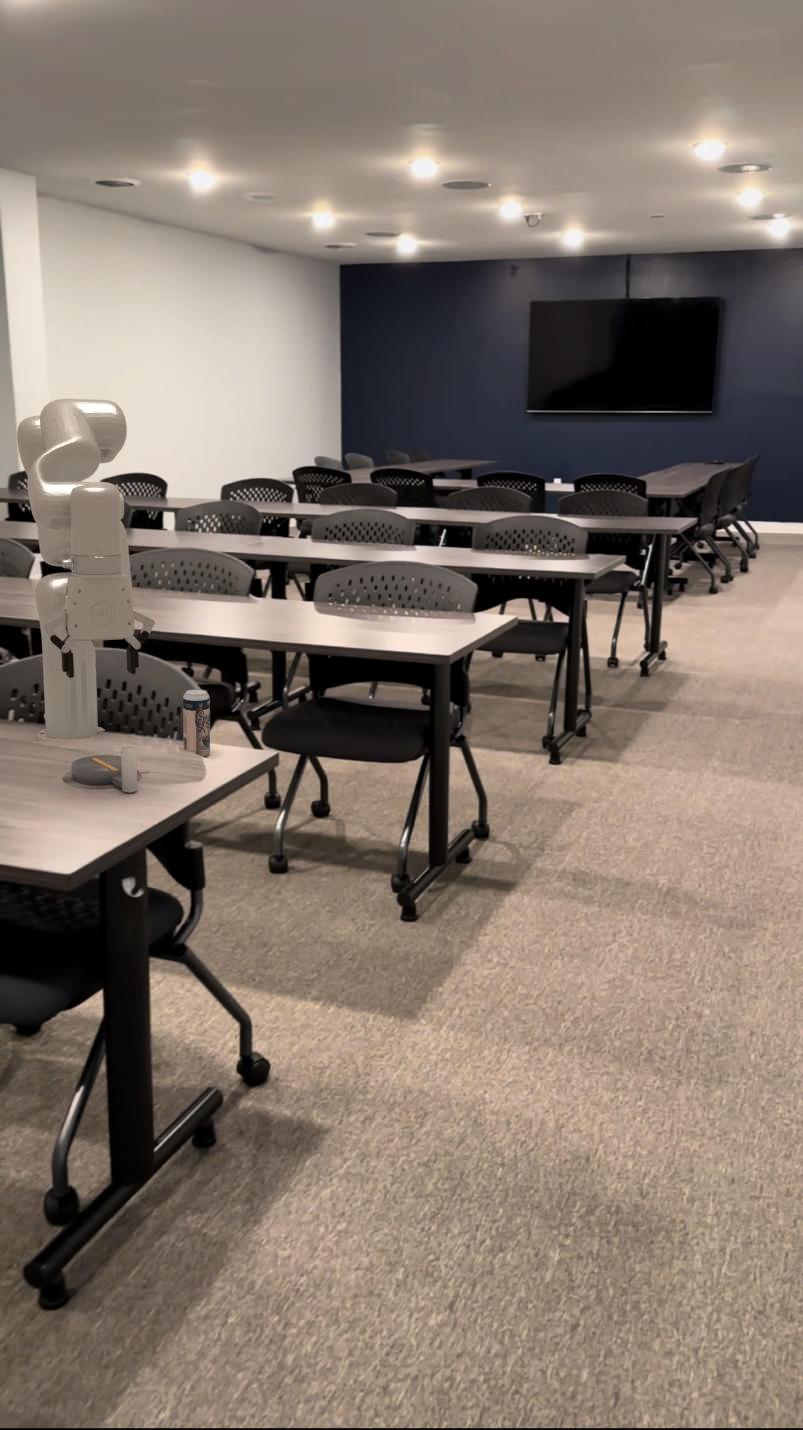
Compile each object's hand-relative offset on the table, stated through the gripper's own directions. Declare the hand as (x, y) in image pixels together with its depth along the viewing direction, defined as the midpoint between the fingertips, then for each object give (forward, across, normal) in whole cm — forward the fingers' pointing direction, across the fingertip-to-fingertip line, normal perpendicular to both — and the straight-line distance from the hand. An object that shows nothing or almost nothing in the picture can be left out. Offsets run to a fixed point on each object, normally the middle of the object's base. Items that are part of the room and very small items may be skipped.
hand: (101, 674), depth 193 cm
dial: (+19, +2, +6) cm, 20 cm away
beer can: (+20, +21, +21) cm, 36 cm away
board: (+21, +3, +9) cm, 23 cm away
